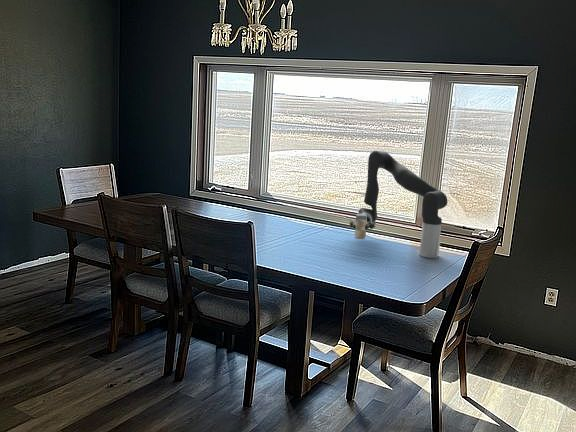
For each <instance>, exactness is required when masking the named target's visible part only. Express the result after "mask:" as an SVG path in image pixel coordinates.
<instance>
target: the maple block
mask: <svg viewBox="0 0 576 432" xmlns="http://www.w3.org/2000/svg"><path fill="white" fill-rule="evenodd" d="M355 221H356V227H355V229H354V239H357V240H365V239H366V237H367V236H366V235H367V230H365V226H366V224H367V214H358V213H357V214H356V215H355Z"/></svg>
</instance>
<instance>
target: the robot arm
mask: <svg viewBox="0 0 576 432" xmlns="http://www.w3.org/2000/svg"><path fill="white" fill-rule="evenodd" d="M367 160H368V161H367V181H366V190H365V194H364V198H363V199H364V200H363V203H364V204H366V205H367V206H370V207H371V208H368V207H360V208H359V210H358V214H367V224H366V226H365V230H366V231H367V230H369V229H370V230H373V229H374V228H376V223H377V222H376V220H377V218H378V210H377V203H378V198H379V192H380V188H379V182H378V173H379V169H383V170H386V171H387V172H389V173H390V174H391V175H392V177H393V179H394V181H395V182H396V183H397V184H398V186H401V187H402V188H403V189H405V190H407V191H408V192H411V193H412V194H416V195H419V196H421V197H423V199H422V207H421V217H422V226H421V236H420V245H419V256H421V257H422V258H423V257H424V258H426V259H427V258H429V259H438V257H439V255H440V248H441V230H442V220H443V219H442V217H440V216H439V215H438V214H439V213H438V211H439V210H441V209H444V208H445V207H446V206H447V205H448V198H447V197H448V196H446V194H445V193H444V192H443V191H441V190H439V189H437V188H436V187H434V186H433V185H430V184H429V183H428V182H427V181H425V180H423V179H422V178H421V177H419V176H418V175H417V174H415V172H414V171H412V170H410V169H408V168H407V167H406V166H405V165H403V164H401V163H399V161H398V160H396V159H395V158H394V157H393V156H392V155H391V154H390V153H388V152H387V151H384V150H383V151H382V150H373V151H371V152H370V154H369V156H368V159H367ZM349 227H350V228H353V229H354V230H355V227H356V220H352V219H349Z"/></svg>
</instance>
